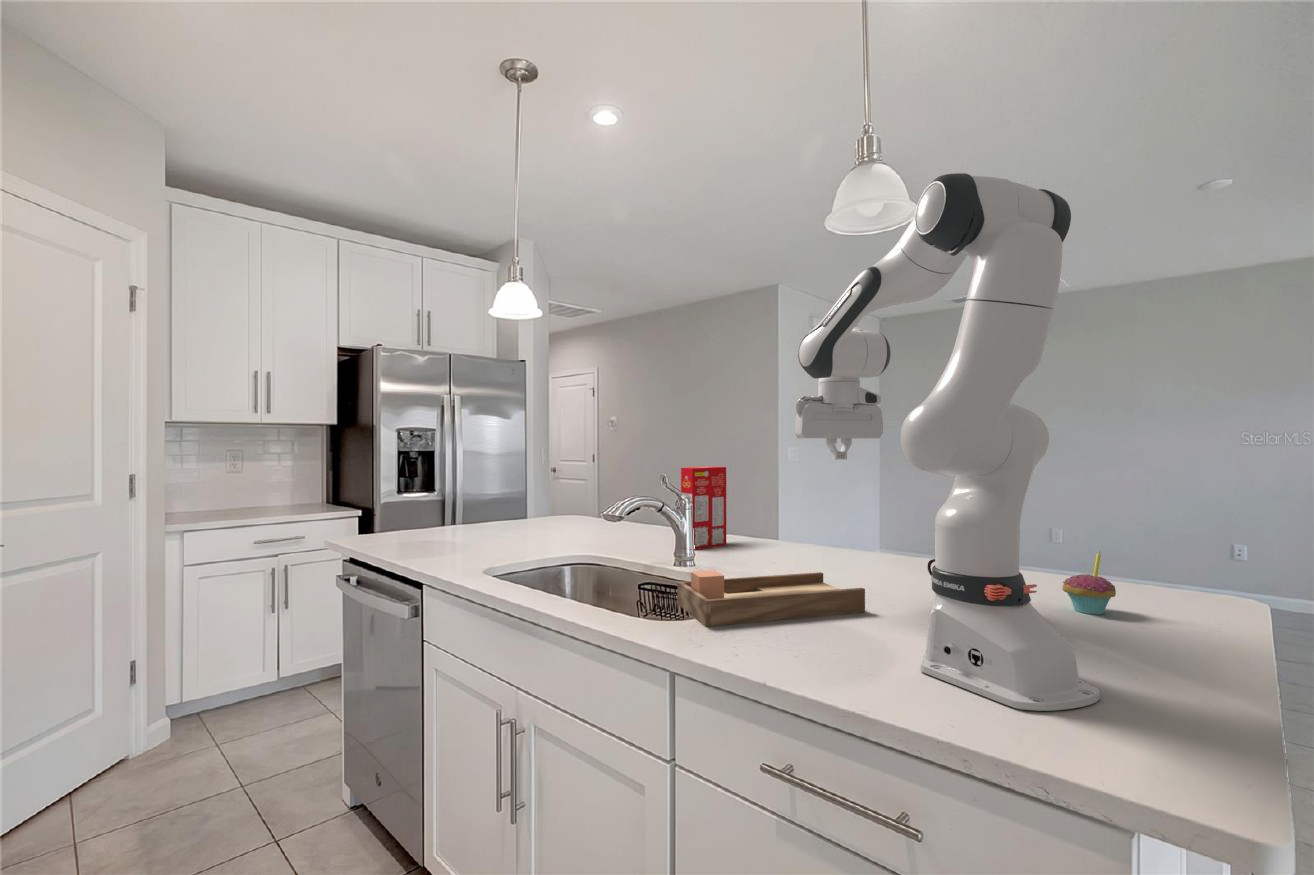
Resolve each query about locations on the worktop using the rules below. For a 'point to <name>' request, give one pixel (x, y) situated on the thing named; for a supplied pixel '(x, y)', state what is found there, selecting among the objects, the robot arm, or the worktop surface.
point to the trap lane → (770, 599)
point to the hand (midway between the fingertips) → (839, 459)
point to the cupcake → (1089, 591)
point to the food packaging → (706, 504)
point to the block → (708, 584)
